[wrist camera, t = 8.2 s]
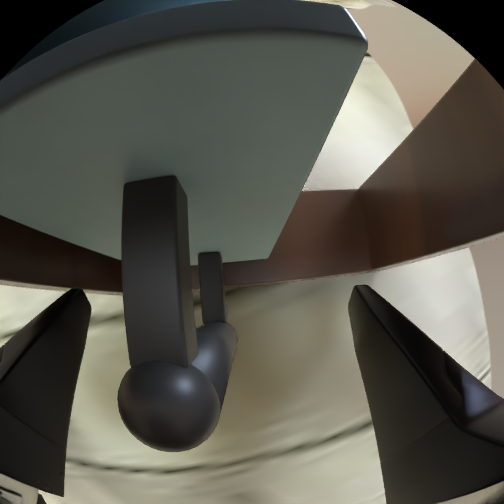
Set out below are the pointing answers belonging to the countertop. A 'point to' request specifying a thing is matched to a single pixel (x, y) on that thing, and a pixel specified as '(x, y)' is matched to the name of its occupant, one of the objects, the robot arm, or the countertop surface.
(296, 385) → the countertop surface
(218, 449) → the countertop surface
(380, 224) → the window frame
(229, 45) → the window sash
